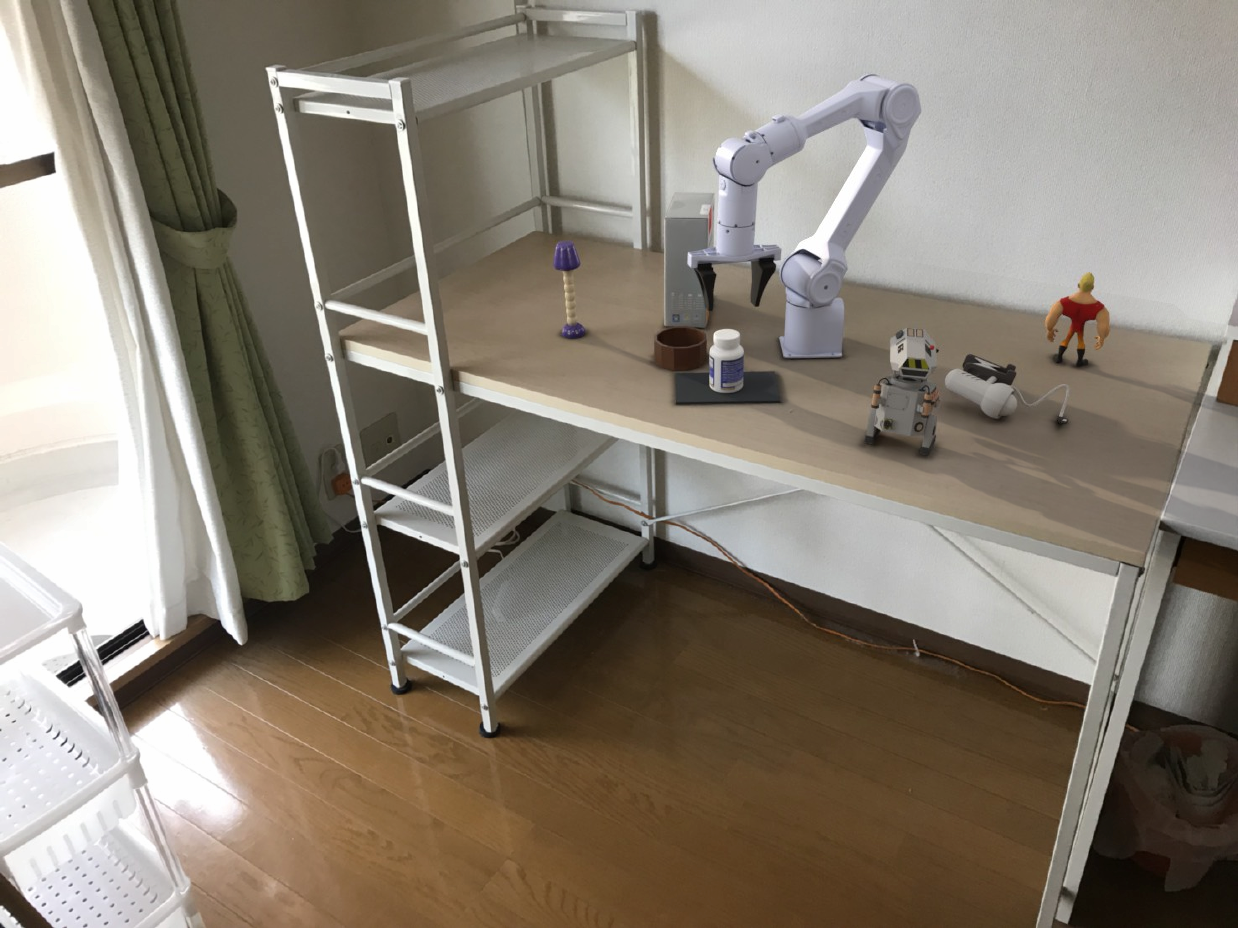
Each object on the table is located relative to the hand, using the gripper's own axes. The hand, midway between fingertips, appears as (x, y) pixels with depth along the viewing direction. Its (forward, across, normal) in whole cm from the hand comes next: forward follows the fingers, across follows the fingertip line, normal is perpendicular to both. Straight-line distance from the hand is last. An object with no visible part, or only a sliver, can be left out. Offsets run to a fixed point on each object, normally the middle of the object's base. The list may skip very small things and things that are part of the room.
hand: (731, 306), depth 157 cm
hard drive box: (+10, -1, -24) cm, 26 cm away
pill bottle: (+10, +3, +7) cm, 13 cm away
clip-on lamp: (+10, -34, +26) cm, 44 cm away
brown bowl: (+11, +7, -5) cm, 14 cm away
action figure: (+9, -52, +15) cm, 55 cm away
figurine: (+10, -16, +29) cm, 35 cm away
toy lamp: (+11, +22, -21) cm, 32 cm away
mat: (+10, +3, +7) cm, 13 cm away
